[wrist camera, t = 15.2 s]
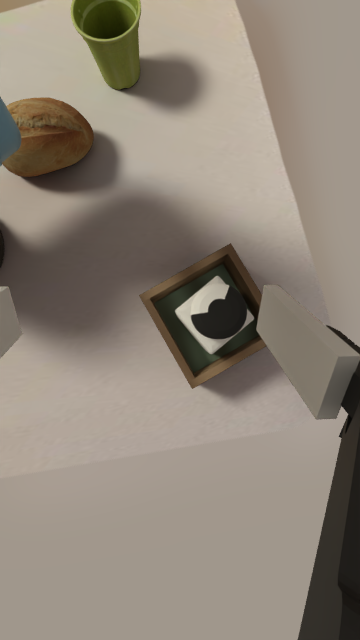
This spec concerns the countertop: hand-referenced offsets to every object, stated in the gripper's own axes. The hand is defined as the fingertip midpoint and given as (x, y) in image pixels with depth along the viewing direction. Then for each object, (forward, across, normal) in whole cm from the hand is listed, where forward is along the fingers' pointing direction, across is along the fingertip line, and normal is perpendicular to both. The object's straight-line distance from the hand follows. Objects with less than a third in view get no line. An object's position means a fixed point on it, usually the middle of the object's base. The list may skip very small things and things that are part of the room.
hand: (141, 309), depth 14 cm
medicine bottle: (+22, +8, -12) cm, 27 cm away
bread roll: (+39, -16, +10) cm, 43 cm away
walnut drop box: (+23, +8, -12) cm, 27 cm away
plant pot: (+45, -5, +22) cm, 50 cm away
